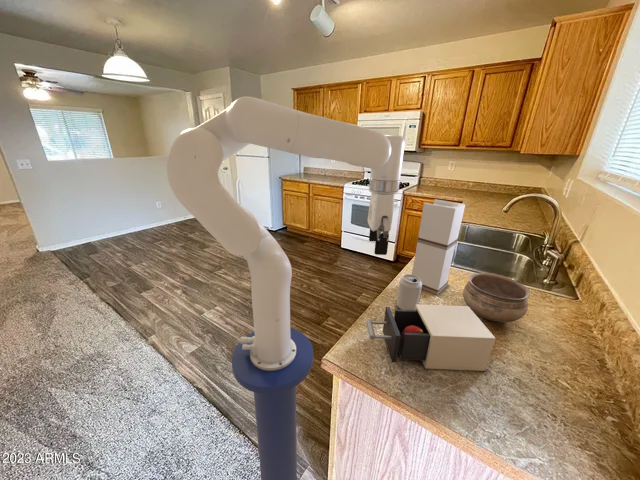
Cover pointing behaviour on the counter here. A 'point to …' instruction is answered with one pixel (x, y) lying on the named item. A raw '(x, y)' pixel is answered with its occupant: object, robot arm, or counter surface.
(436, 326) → the cream rectangular box
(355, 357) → the counter surface
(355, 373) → the counter surface
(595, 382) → the counter surface
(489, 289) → the cooking pot
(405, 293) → the can
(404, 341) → the dark pull-out drawer
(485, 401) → the counter surface
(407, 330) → the onion
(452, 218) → the tall white column
